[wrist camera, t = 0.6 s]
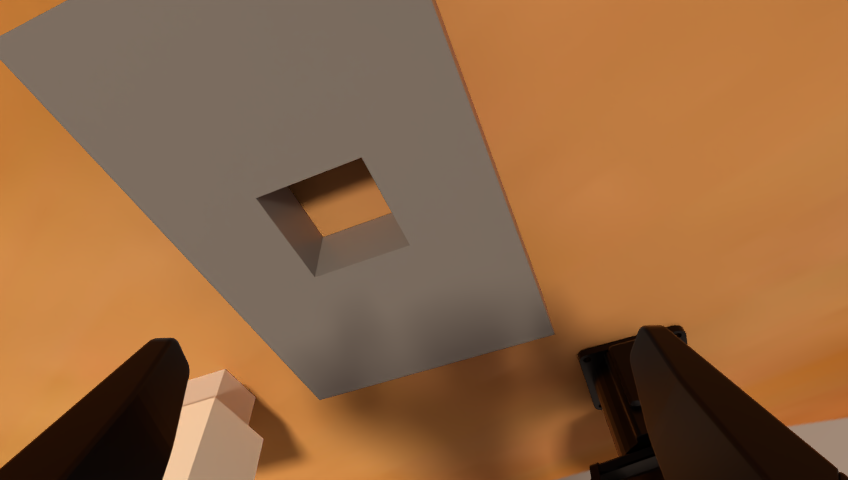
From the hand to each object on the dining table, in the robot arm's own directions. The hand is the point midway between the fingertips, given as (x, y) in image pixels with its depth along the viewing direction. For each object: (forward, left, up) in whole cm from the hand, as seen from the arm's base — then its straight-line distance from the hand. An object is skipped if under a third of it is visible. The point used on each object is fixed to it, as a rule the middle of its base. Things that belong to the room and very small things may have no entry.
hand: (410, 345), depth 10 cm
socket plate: (-3, +5, -14) cm, 15 cm away
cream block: (-14, +20, -14) cm, 28 cm away
